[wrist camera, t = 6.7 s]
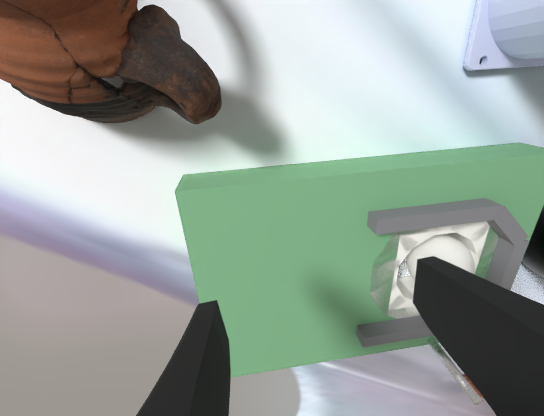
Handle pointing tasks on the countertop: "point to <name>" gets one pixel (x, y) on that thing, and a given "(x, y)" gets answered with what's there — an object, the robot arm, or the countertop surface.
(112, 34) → the pottery mug
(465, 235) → the mat
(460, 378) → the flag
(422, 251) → the ball
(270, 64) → the countertop surface
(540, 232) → the ink bottle
